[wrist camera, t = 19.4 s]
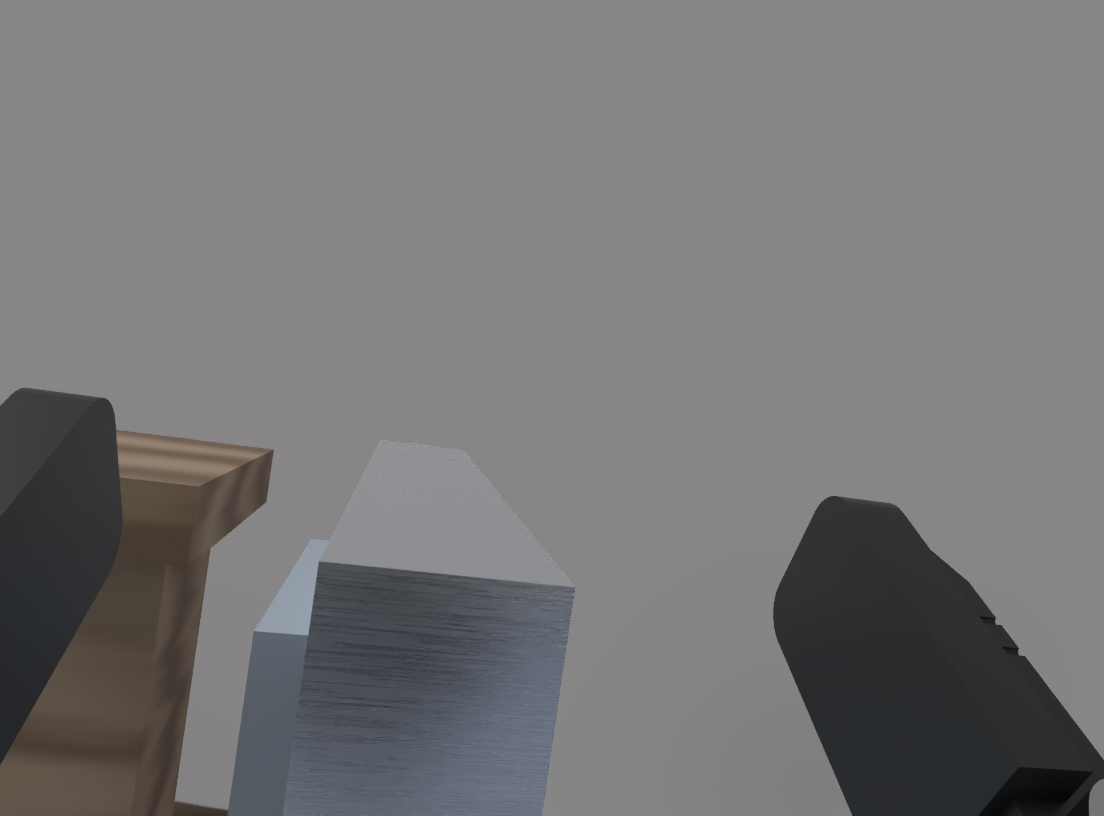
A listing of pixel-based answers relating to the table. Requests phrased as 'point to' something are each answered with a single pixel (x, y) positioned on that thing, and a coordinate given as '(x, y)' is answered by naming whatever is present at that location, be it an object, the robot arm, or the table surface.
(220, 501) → the walnut pedestal
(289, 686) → the slate plinth
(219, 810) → the table surface
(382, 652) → the aluminium bar
